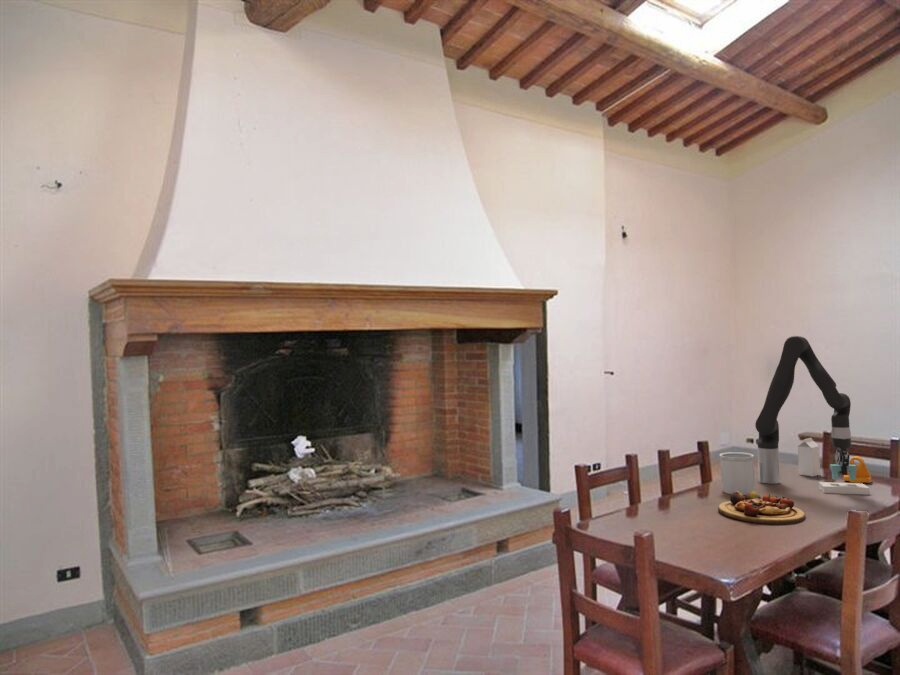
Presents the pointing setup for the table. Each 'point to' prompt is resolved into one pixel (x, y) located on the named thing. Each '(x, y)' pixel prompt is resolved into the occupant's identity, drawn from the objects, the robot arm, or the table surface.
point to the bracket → (859, 472)
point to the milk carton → (808, 458)
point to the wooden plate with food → (761, 509)
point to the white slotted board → (844, 488)
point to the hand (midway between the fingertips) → (843, 473)
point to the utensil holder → (737, 472)
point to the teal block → (837, 467)
